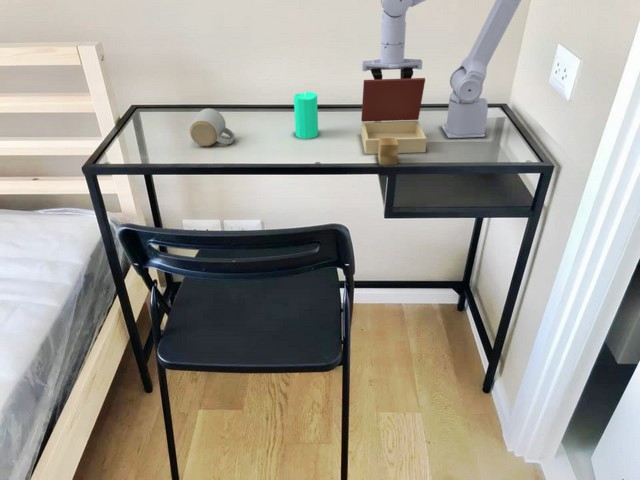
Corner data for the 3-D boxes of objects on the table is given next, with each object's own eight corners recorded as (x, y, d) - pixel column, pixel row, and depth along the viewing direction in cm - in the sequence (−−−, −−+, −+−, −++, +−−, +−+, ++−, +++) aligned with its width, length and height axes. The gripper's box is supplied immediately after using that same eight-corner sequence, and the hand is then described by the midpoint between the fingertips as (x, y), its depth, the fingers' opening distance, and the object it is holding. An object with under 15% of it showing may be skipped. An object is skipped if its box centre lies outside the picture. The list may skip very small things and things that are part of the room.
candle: (319, 130, 143) (318, 85, 136) (317, 138, 138) (315, 93, 131) (297, 130, 143) (294, 85, 137) (294, 138, 138) (291, 92, 132)
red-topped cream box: (425, 152, 129) (426, 138, 127) (365, 154, 129) (365, 140, 127) (417, 133, 139) (418, 120, 137) (361, 135, 139) (361, 122, 137)
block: (394, 157, 127) (395, 137, 124) (397, 164, 123) (398, 144, 121) (378, 158, 127) (378, 138, 124) (379, 165, 123) (380, 144, 121)
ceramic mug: (190, 147, 135) (185, 118, 131) (199, 135, 142) (195, 107, 137) (231, 149, 134) (228, 119, 130) (238, 136, 141) (235, 108, 137)
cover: (425, 79, 126) (422, 67, 129) (363, 81, 126) (362, 69, 129) (418, 120, 137) (416, 107, 139) (361, 121, 137) (360, 109, 139)
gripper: (364, 47, 124) (363, 104, 131) (426, 45, 124) (421, 102, 131) (361, 40, 130) (360, 95, 137) (420, 38, 130) (416, 93, 137)
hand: (390, 98), depth 134 cm, fingers closed on cover, 5 cm apart
